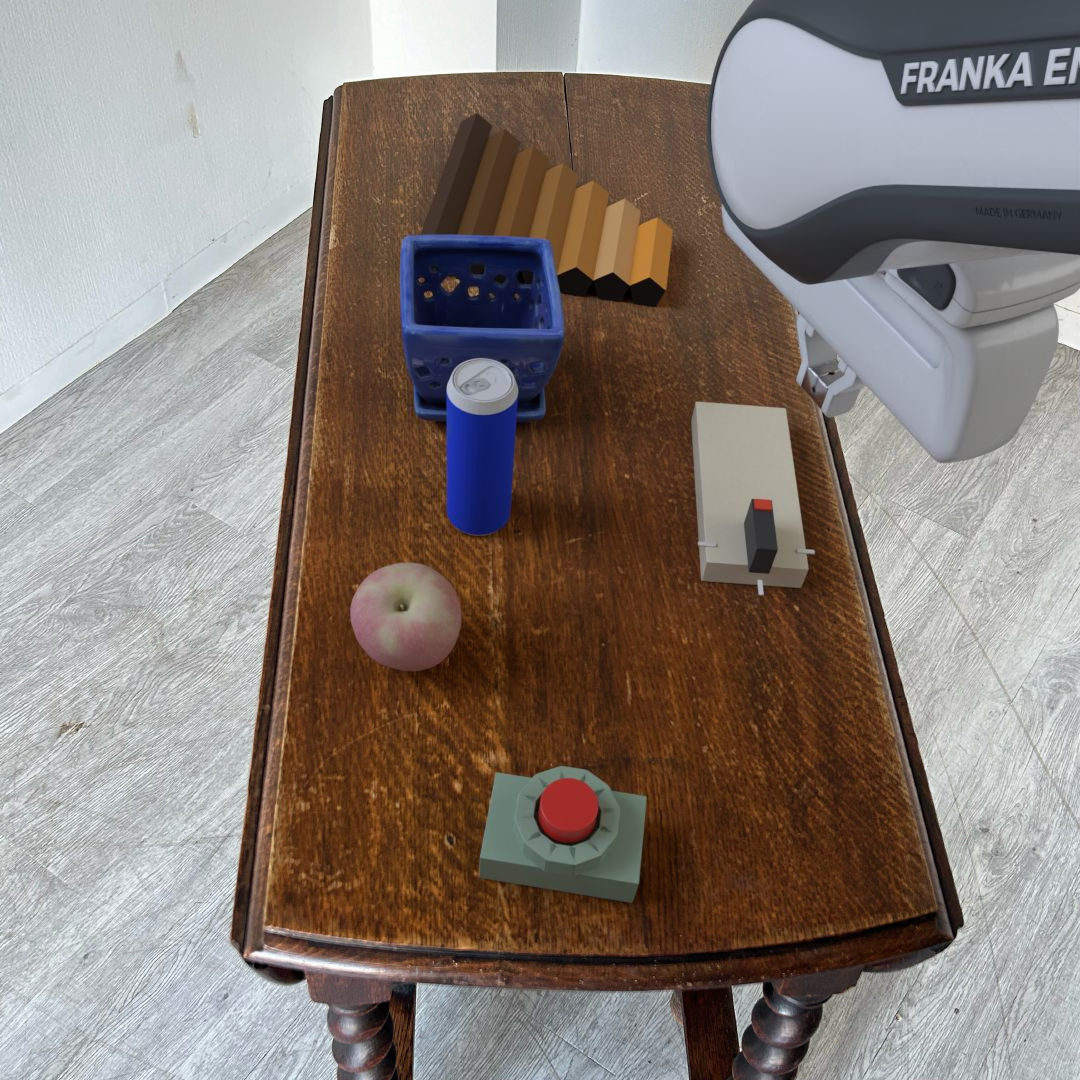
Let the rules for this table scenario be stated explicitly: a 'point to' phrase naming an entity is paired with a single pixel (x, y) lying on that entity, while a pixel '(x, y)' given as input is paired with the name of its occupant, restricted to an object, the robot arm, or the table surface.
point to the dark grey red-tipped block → (760, 536)
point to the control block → (543, 862)
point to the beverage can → (480, 445)
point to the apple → (406, 616)
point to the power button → (568, 810)
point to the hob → (745, 492)
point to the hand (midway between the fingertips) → (822, 398)
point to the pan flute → (548, 216)
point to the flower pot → (479, 315)
